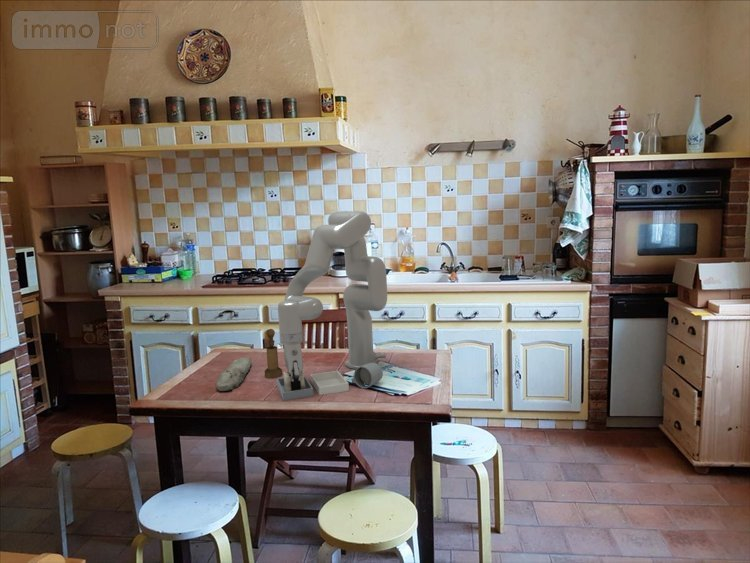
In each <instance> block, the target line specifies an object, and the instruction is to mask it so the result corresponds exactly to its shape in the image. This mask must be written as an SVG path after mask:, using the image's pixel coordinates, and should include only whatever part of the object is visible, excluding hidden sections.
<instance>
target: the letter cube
mask: <svg viewBox="0 0 750 563" xmlns="http://www.w3.org/2000/svg"><path fill="white" fill-rule="evenodd" d="M292 372H294V371H292ZM282 374H283V378H284V388H285V391H286V392H288V391H291V381H292V380H291V373H289V372H288V371H286V372H283V371H282ZM299 374H300V381H301V390H302V389H305V382H304V375H305V374H304V373H303V372H301V371H300V370H299ZM293 376H294V374H293Z"/></svg>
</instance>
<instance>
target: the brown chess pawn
mask: <svg viewBox="0 0 750 563" xmlns="http://www.w3.org/2000/svg"><path fill="white" fill-rule="evenodd" d="M265 332H266V337H267V338H268V341H267V343H268V346H267V347H266V348H265V350H266V362H267V368H266V369H265V370H264V378H265V379H279V378H281V377H282V376H284V374H283V369H282V368H281V367H279V357H278V347H277V346H275V340H274V337H275V334H276V332H275V330H274V329H273V328H269V329H267V330H266V331H265Z"/></svg>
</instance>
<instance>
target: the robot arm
mask: <svg viewBox="0 0 750 563" xmlns="http://www.w3.org/2000/svg"><path fill="white" fill-rule="evenodd" d="M327 222H328V224H321V225H318V226H317V227H316V228H315V229H314V230H313V234H312V237H311V241H310V244H309V248H308V252H307V255H306V258H305V262H304V265H303V266H302V267H301V268H300V269H299V271H297V273H296V274H295V275H294V276H293V277H292V279H291V280H290V283H289V284H288V286H287V289H286V293H285V296H284V300H282V301H280V302H279V303H278V304H277V314H278V315H277V317H278V329H279V331H278V332H279V343H280V344H282V345H283V355H284V365H285V367H286V370H287V372H289V373H291V380H292V381H291V391H295V390H301V381H300V374H299V370H300V371H301V372H302V373H303V372H304V362H303V353H302V352H303V351H302V343H303V342H304V341H303V339H304V338H303V325H302V323H303V322H302V321H308V320H309V321H310V320H315V319H317V318H319V317H320V316H321V315H322V313H323V311H324V305H323V302H322V301H321V300H320V298H319V299H318V298H316V297H313V296H306V295H304V292H305V289H307V288H308V286H309V285H310V283H312V282H313V281H315V280H316V279H318V278H321V277H322V276H324V275H326V274H327V273H328V272H329V270H330V267H331V262H332V259H333V255H334V251H335V250H343V252H344V267H345V268H344V269H345V275H346V277H347V278H348V279H349V280H350V281H355V282H366V283H367V284H364V283H363V284H362V283H353V284H349V285H348V286H346V288H345V289H344V290H343V293H342V294H343V295H342V298H343V303H344V307H345V314H346V324H347V341H348V342H347V346H348V359H347V360H345V363H344V364H345V367H347V368H348V369H354V370H356V369H357V368H358V367H360V366H363V365H366V364H368V363H376V364H378V365H379V361H378V360H379V359H385V358H386V357H387V356H386V353H385V352H382V353H381V352H380V351H379V352H375V351H374V345H373V344H374V338H373V321H372V320H373V319H372V315H371V313H370V311H372V312H380V311H382V310H384V309H385V307H386V306H387V302H388V283H387V281H388V280H387V268H386V265H385V262H384V260H382V258H380V257H377V256H371V255H370V256H368V249H367V243H366V242H367V241H366V239H365V237H364V236H366V235H367V234H368V232H369V231H370V229H371V226H372V220H371V217H370V215H369V214H368V213H367V212H364V211H362V210H361V211H360V210H358V211H357V210H355V211H353V210H352V211H351V210H350V211H347V210H345V211H341V210H340V211H334V212H332V213H330V215H329V216H328V219H327ZM292 371H294V372H292ZM293 374H294V376H293Z"/></svg>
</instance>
